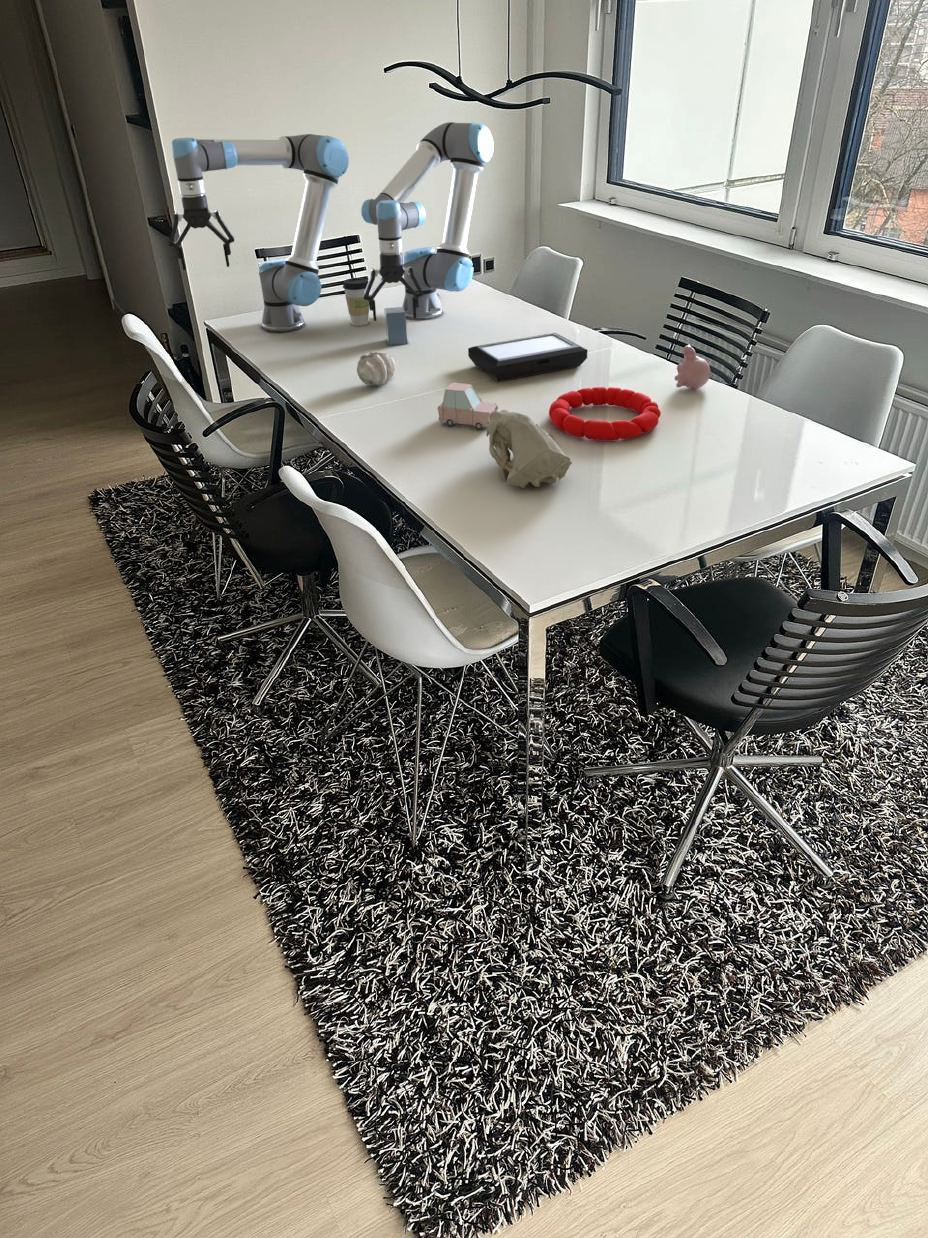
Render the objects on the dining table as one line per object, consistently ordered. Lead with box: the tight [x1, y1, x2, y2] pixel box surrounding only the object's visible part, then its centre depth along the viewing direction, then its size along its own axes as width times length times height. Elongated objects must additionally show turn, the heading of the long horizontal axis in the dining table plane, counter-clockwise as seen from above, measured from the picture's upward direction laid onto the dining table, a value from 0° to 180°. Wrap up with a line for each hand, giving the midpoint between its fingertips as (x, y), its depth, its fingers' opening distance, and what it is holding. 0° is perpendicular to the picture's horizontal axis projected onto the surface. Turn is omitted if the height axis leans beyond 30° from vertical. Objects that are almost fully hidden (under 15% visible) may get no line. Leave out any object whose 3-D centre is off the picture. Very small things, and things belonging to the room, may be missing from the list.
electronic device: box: [467, 332, 588, 382], centre depth 281 cm, size 32×6×20 cm
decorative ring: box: [548, 386, 661, 442], centre depth 242 cm, size 7×30×30 cm
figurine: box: [674, 344, 711, 390], centre depth 259 cm, size 9×11×12 cm
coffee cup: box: [342, 277, 370, 327], centre depth 323 cm, size 10×10×15 cm
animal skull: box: [485, 409, 573, 489], centre depth 216 cm, size 17×25×20 cm
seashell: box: [356, 351, 396, 386], centre depth 270 cm, size 10×15×10 cm
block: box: [383, 306, 408, 346], centre depth 305 cm, size 7×6×11 cm
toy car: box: [437, 382, 499, 431], centre depth 243 cm, size 9×15×10 cm, turn 70°
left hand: (206, 267), depth 285 cm, fingers open, 13 cm apart
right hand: (394, 318), depth 303 cm, fingers open, 13 cm apart
